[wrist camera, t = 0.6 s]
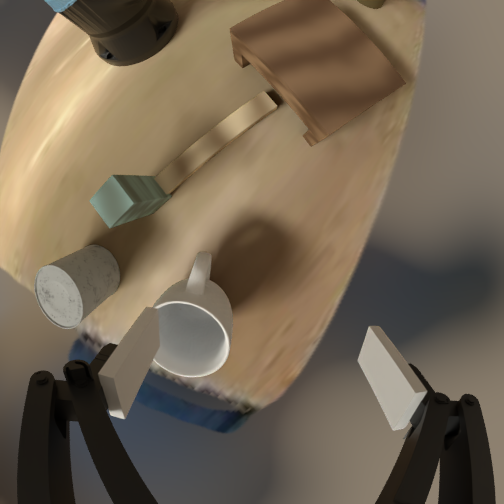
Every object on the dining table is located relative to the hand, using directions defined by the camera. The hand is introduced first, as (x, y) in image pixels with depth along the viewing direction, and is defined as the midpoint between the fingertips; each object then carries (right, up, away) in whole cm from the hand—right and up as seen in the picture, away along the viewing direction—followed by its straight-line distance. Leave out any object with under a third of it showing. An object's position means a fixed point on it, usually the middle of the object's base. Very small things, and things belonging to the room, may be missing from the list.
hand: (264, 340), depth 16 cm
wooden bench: (+8, +32, +19) cm, 38 cm away
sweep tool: (-8, +20, +22) cm, 30 cm away
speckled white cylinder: (-27, +2, +27) cm, 38 cm away
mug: (-8, -1, +27) cm, 29 cm away
